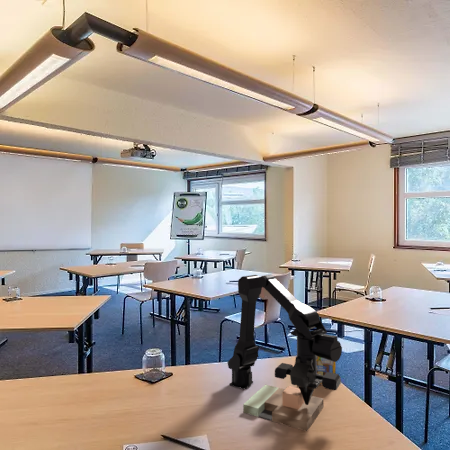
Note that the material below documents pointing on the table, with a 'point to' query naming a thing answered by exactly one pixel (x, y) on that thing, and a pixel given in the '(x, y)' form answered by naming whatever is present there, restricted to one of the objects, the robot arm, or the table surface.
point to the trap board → (282, 408)
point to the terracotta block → (292, 397)
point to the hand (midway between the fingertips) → (307, 404)
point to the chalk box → (325, 366)
